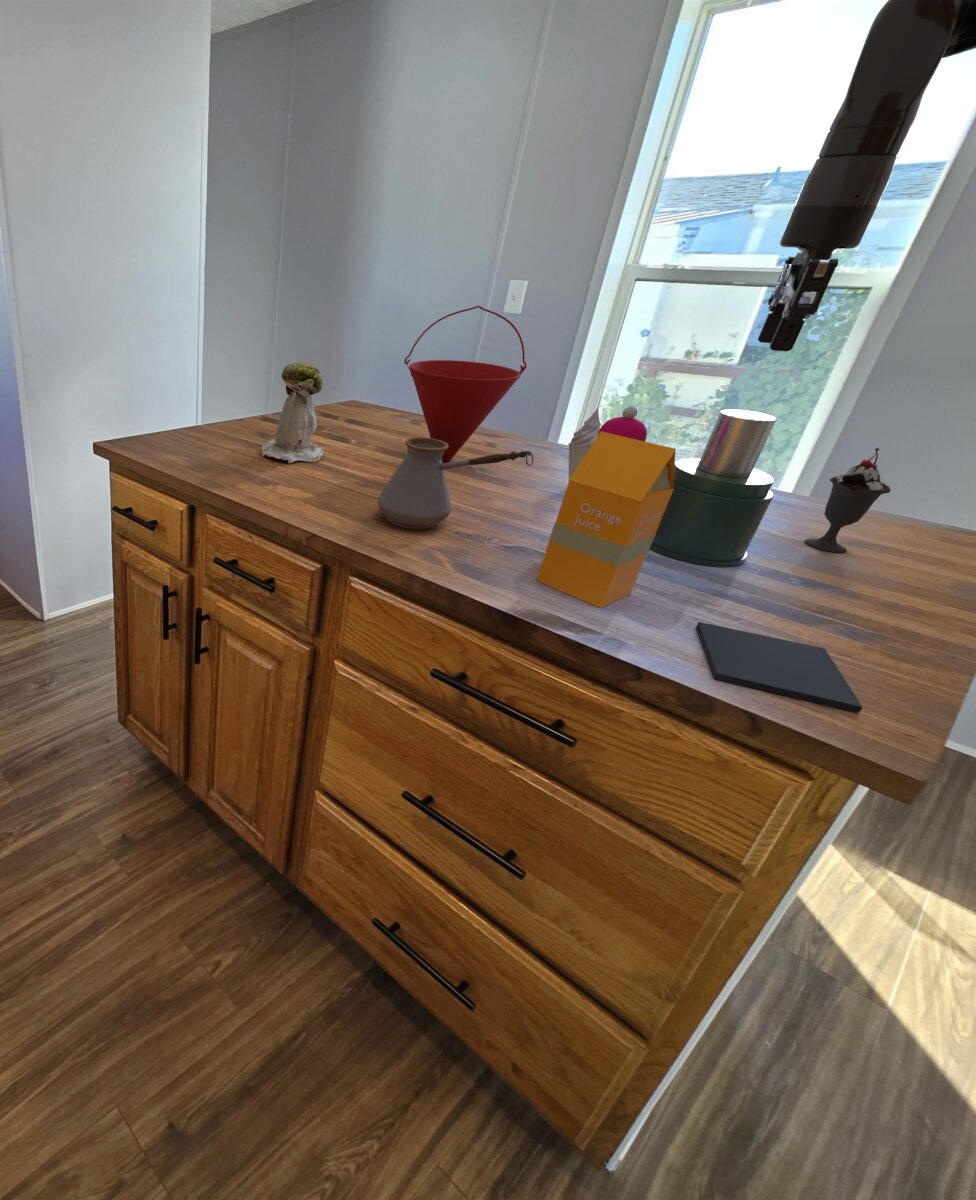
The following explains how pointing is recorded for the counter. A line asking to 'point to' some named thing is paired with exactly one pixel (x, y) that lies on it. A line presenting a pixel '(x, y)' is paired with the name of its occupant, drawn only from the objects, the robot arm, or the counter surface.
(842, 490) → the sundae
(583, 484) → the orange juice
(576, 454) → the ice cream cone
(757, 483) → the canister
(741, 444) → the silver cup
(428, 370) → the fire bucket
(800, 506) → the counter surface
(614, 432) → the pepper mill
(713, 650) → the mat
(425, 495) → the coffee pot
